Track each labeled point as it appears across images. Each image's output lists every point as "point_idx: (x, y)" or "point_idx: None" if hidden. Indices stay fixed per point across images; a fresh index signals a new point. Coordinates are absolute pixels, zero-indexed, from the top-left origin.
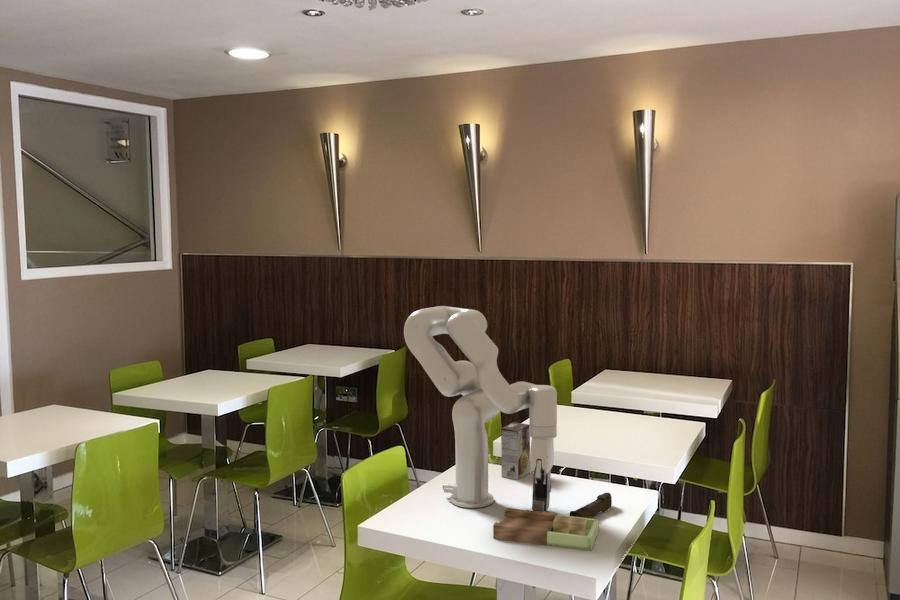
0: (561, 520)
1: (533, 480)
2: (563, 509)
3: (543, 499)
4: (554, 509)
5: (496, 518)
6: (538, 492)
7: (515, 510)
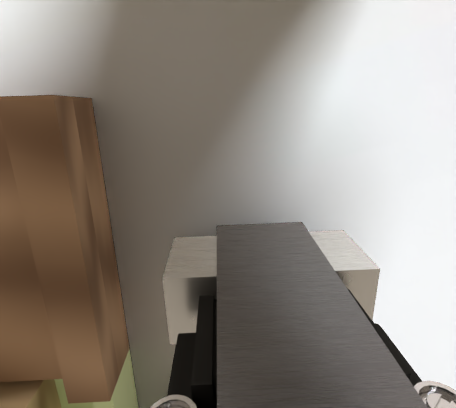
0: None
1: (218, 381)
2: None
3: None
4: None
5: (94, 25)
6: (177, 353)
7: (35, 175)
